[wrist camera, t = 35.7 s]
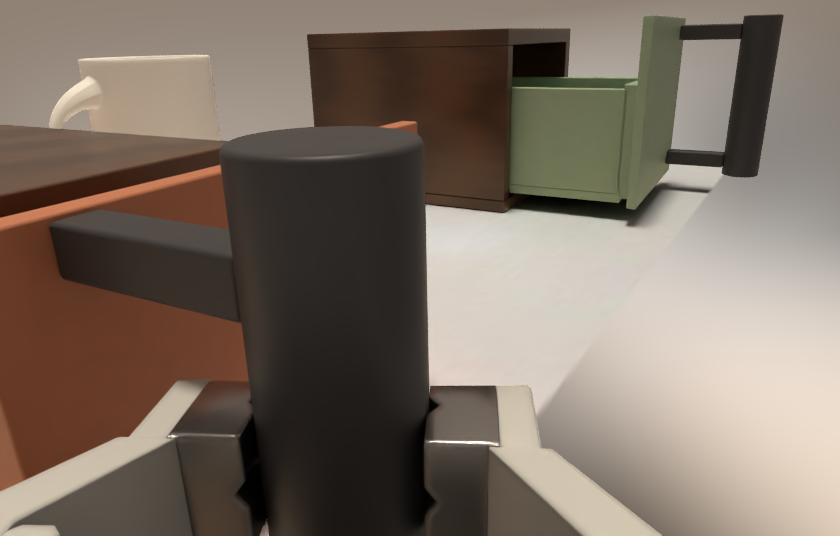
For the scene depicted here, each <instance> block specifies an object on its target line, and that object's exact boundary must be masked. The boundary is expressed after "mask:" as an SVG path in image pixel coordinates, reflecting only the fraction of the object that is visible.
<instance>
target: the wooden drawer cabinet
mask: <svg viewBox="0 0 840 536" xmlns="http://www.w3.org/2000/svg"><path fill="white" fill-rule="evenodd" d="M307 40H308V48H309V50H308V51H309V62H310V63H309V64H310V75H311V89H312V102H313V112H314V113H313V114H314V127H329V126H367V127H380V126H384V125H388V124H392V123H396V122H400V121H415V122H417V134H418V135H419V136H421V138H422V140H423V142H424V163H425V204H434V205H443V206H452V207H461V208H470V209H479V210H488V211H497V212H505V211H506V210H508V209H510V208H511V207H513V206H514V205H516V204H517V203H519V202H520V201H522V200H523V199H525V198H526V197H528V196H529V195H531V194H520V193H510V192H509V179H510V141H511V104H512V77H568V63H569V45H570V44H569V43H570V42H569V41H570V29H478V30H444V31H443V30H442V31H411V32H410V31H408V32H374V33H339V34H308V35H307Z"/></svg>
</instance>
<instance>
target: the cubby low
mask: <svg viewBox="0 0 840 536" xmlns="http://www.w3.org/2000/svg"><path fill="white" fill-rule="evenodd" d="M226 142H229V141H218V140H204V139H190V138H176V137H163V136H149V135H135V134H122V133H108V132H94V131H81V130H80V131H79V130H66V129H53V128H40V127H39V128H38V127H24V126H12V125H0V218H2V217H6V216H10V215H14V214H19V213H23V212H27V211H31V210H35V209H39V208H43V207H48V206H52V205H56V204H60V203H64V202H68V201H72V200H77V199H81V198H85V197H89V196H93V195H97V194H102V193H106V192H110V191H114V190H118V189H122V188H126V187H131V186H135V185H139V184H143V183H147V182H151V181H155V180H160V179H164V178H168V177H172V176H176V175H180V174H185V173H189V172H193V171H197V170H201V169H205V168H209V167H214V166H218V165H220V159H219V151H220V148H221V146H222V145H223V144H224V143H226Z"/></svg>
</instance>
